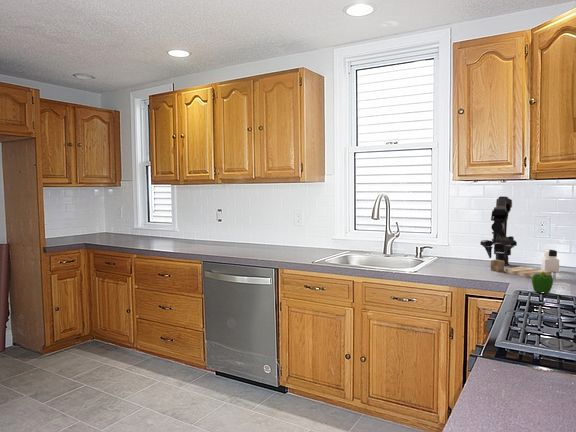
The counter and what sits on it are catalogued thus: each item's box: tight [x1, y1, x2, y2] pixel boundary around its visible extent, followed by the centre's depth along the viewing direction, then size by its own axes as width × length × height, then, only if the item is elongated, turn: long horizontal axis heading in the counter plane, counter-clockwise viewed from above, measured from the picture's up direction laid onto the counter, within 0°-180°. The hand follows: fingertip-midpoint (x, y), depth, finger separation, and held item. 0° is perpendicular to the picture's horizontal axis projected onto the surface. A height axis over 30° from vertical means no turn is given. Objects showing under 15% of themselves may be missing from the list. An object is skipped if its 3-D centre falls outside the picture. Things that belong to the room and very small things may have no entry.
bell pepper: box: [531, 272, 554, 294], centre depth 197 cm, size 8×8×10 cm
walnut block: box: [490, 259, 506, 273], centre depth 246 cm, size 5×5×6 cm
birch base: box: [504, 266, 553, 279], centre depth 238 cm, size 16×16×2 cm
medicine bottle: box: [540, 249, 560, 273], centre depth 246 cm, size 7×7×12 cm
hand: (497, 258), depth 245 cm, fingers open, 9 cm apart
